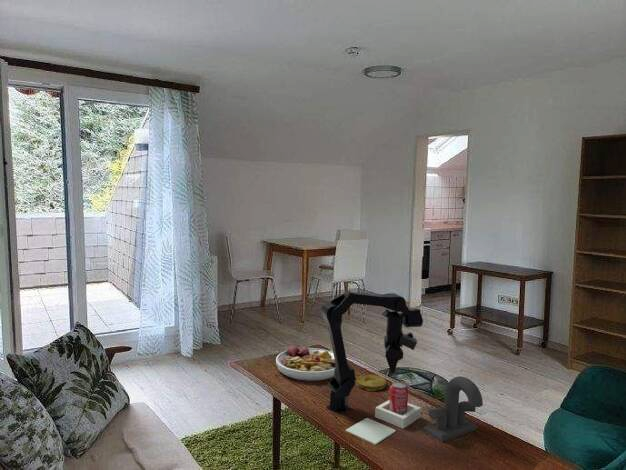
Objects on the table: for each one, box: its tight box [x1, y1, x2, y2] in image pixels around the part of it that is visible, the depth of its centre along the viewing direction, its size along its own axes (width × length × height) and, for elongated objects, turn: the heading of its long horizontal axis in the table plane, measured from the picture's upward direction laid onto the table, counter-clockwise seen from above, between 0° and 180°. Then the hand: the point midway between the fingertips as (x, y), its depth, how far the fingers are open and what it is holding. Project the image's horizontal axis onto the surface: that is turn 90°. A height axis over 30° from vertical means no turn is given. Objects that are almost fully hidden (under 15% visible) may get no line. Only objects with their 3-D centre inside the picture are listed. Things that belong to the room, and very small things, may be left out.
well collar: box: [374, 399, 422, 429], centre depth 167 cm, size 12×12×4 cm
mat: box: [345, 417, 397, 446], centre depth 156 cm, size 12×12×1 cm
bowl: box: [275, 345, 335, 382], centre depth 209 cm, size 30×30×8 cm
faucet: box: [422, 376, 484, 443], centre depth 155 cm, size 18×16×20 cm
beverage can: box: [389, 381, 409, 416], centre depth 166 cm, size 6×6×12 cm
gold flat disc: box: [355, 374, 387, 392], centre depth 194 cm, size 12×12×2 cm
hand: (392, 368), depth 177 cm, fingers open, 9 cm apart
